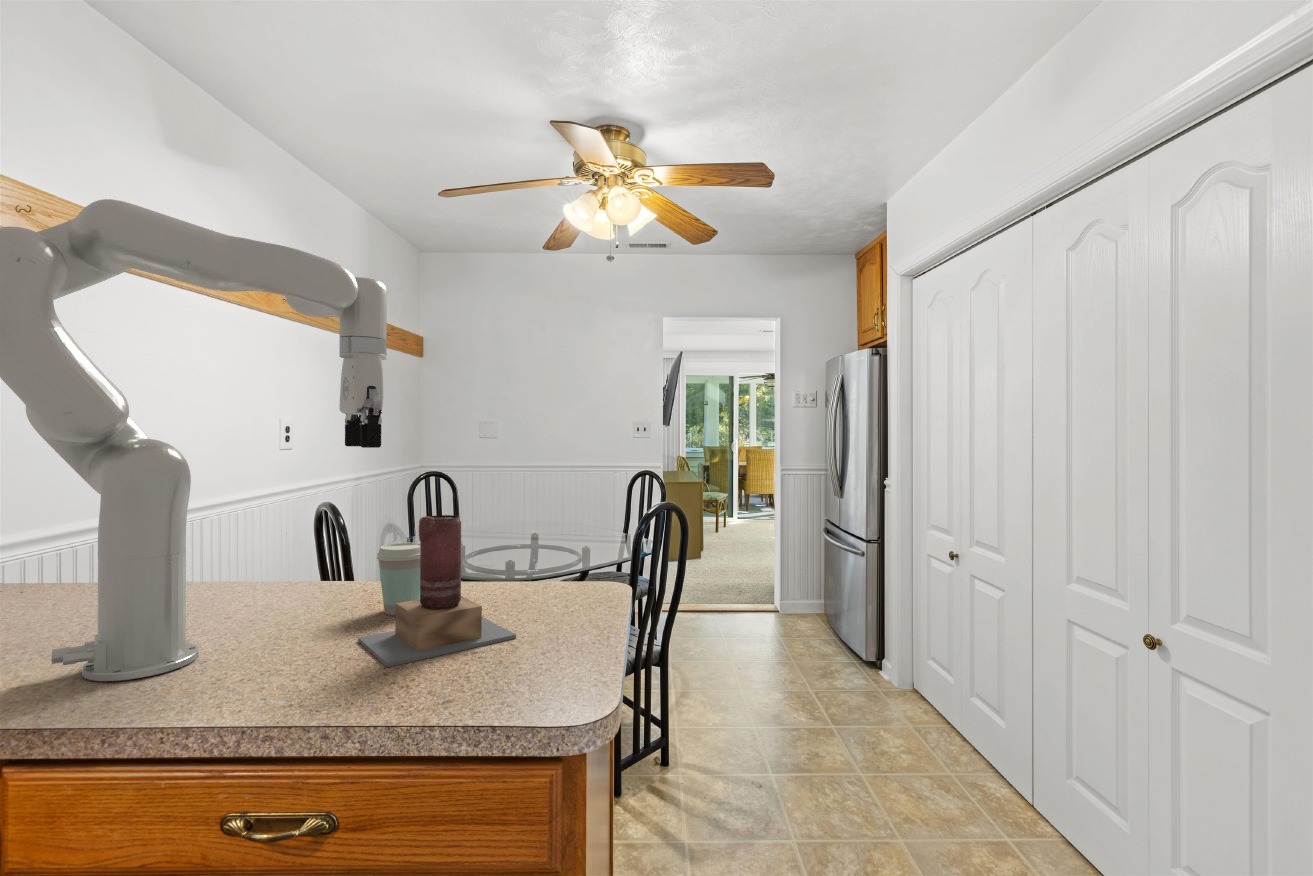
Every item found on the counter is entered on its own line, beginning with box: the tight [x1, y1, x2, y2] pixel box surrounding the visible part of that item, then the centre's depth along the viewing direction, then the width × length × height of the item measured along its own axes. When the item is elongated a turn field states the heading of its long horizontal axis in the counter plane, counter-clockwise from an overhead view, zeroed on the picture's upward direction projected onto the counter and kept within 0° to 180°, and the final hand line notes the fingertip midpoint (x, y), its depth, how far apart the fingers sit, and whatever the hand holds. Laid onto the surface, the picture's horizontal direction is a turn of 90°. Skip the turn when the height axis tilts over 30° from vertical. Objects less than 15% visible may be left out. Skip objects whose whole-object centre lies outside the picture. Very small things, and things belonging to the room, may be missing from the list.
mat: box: [357, 616, 517, 668], centre depth 100 cm, size 20×14×1 cm
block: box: [394, 595, 483, 651], centre depth 100 cm, size 10×10×5 cm
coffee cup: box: [376, 542, 420, 616], centre depth 115 cm, size 9×9×12 cm
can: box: [418, 514, 462, 609], centre depth 100 cm, size 6×6×14 cm
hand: (362, 446), depth 111 cm, fingers open, 9 cm apart
